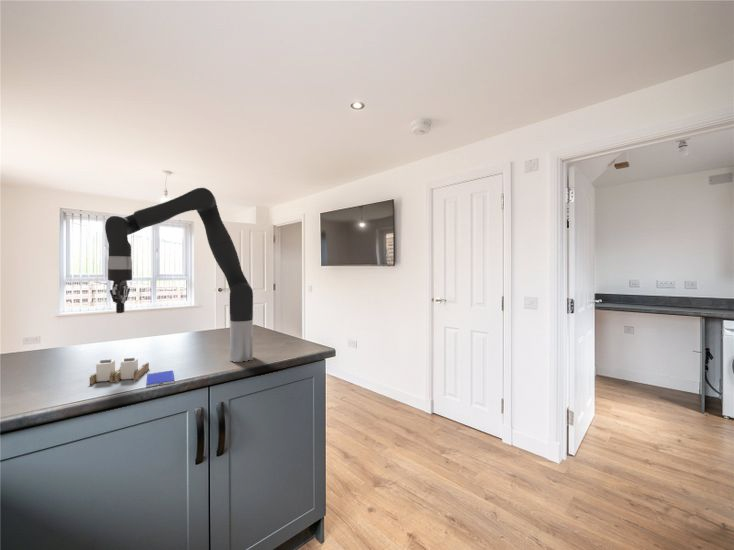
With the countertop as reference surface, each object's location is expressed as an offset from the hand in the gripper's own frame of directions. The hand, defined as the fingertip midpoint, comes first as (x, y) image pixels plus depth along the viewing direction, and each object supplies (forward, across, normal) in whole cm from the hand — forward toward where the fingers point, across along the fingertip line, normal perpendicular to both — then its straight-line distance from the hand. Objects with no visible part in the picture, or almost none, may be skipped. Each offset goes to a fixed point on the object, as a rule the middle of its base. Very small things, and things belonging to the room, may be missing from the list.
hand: (120, 312), depth 126 cm
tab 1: (+22, -13, 0) cm, 26 cm away
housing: (+22, -10, 0) cm, 24 cm away
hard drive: (+23, -18, -18) cm, 34 cm away
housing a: (+22, -10, -7) cm, 25 cm away
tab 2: (+22, -13, -7) cm, 27 cm away
